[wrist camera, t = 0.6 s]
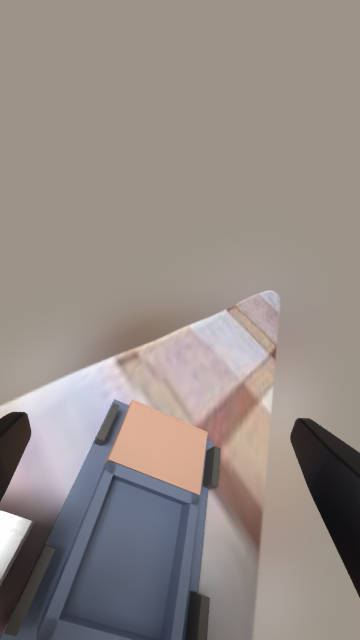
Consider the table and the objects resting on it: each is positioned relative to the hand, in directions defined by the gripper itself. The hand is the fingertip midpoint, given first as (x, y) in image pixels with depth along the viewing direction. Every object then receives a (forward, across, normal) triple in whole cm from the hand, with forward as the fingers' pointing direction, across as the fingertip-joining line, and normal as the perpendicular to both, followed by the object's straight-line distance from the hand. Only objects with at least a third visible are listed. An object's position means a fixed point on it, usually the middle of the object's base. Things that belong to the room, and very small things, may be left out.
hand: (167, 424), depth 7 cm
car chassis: (+5, +1, +15) cm, 16 cm away
